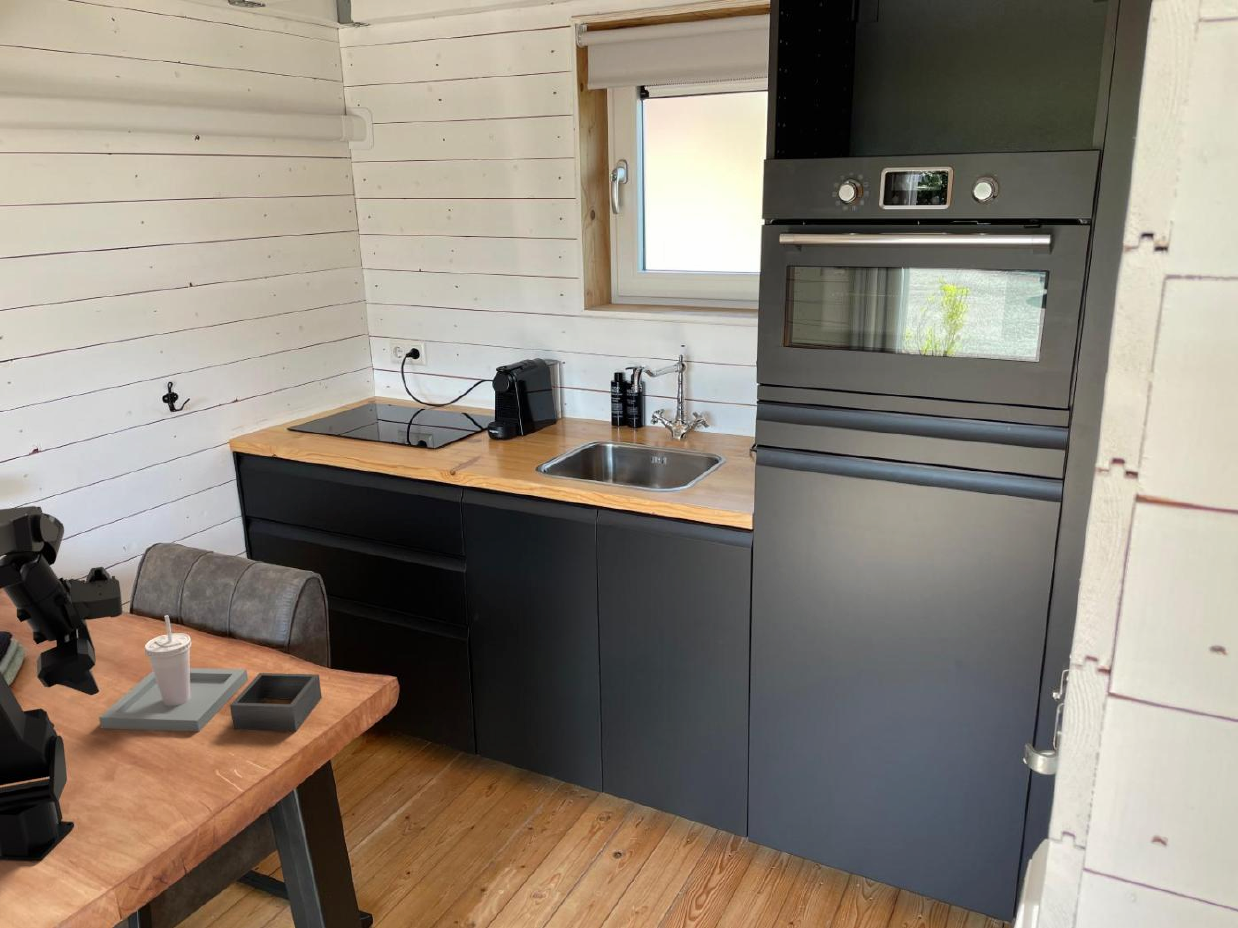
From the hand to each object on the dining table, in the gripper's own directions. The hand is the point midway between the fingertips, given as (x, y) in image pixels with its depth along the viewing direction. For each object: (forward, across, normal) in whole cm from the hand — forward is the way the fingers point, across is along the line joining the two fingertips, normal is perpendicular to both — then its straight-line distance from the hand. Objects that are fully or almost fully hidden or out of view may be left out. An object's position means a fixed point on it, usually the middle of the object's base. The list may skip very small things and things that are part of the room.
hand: (93, 672), depth 129 cm
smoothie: (+14, +4, -6) cm, 16 cm away
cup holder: (+15, -8, -19) cm, 26 cm away
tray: (+14, +4, -6) cm, 16 cm away
